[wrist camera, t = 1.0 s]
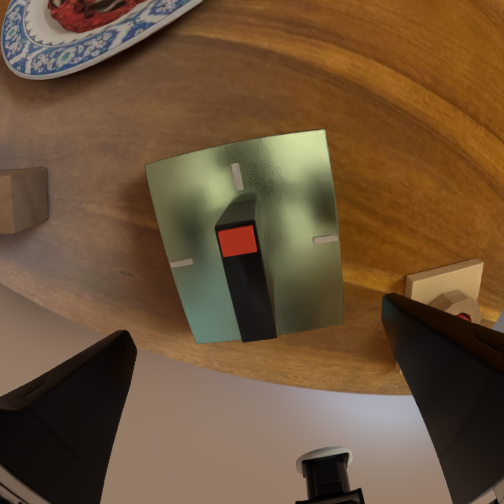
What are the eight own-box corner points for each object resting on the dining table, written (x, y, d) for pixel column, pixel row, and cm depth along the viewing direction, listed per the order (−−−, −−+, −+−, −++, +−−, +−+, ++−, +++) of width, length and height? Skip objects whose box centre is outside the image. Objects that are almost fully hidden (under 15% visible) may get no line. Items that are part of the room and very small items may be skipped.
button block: (458, 345, 21) (471, 362, 19) (394, 367, 22) (405, 388, 19) (476, 257, 18) (496, 270, 15) (405, 275, 19) (423, 293, 16)
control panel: (334, 301, 20) (344, 325, 17) (203, 320, 21) (195, 345, 18) (314, 132, 16) (325, 128, 13) (161, 162, 17) (142, 164, 14)
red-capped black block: (273, 292, 16) (277, 341, 12) (247, 296, 16) (241, 346, 12) (257, 199, 14) (255, 220, 10) (227, 205, 15) (212, 228, 10)
